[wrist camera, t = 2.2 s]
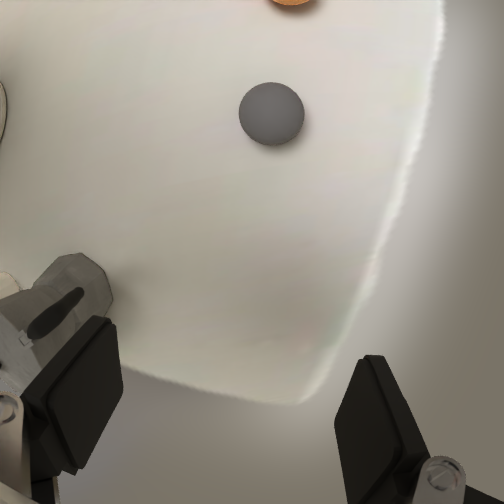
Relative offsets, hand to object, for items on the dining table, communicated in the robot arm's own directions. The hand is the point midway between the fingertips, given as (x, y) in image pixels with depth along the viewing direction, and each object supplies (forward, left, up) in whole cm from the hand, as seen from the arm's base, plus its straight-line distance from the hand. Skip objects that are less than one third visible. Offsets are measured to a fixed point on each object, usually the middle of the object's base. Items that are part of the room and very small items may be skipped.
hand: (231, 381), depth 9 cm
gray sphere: (0, +10, -20) cm, 22 cm away
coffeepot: (-19, -10, -23) cm, 32 cm away
